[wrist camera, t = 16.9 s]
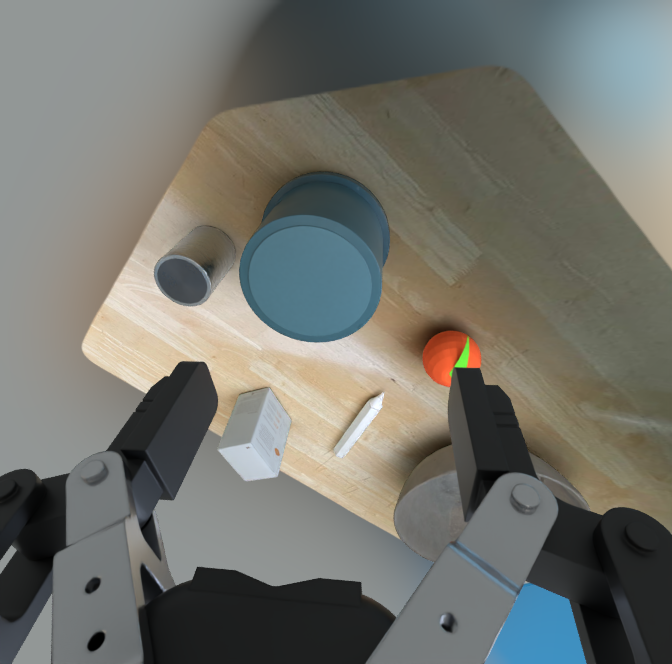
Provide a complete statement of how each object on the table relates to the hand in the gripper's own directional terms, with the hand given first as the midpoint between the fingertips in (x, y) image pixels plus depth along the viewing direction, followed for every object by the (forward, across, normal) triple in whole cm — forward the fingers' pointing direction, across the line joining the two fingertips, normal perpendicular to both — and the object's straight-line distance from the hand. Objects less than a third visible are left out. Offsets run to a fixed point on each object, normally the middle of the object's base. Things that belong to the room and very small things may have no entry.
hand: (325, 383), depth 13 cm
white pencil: (+32, +2, +38) cm, 50 cm away
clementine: (+32, -10, +22) cm, 40 cm away
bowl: (+32, -17, +50) cm, 62 cm away
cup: (+32, +19, +9) cm, 38 cm away
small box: (+32, +17, +36) cm, 51 cm away
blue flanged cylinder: (+32, +5, +8) cm, 33 cm away
